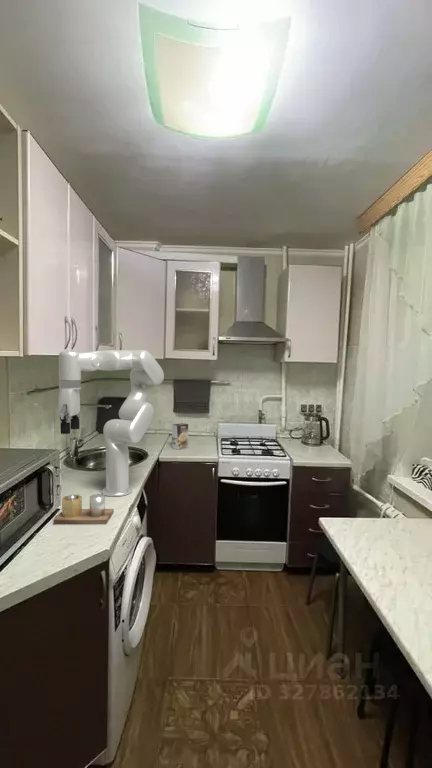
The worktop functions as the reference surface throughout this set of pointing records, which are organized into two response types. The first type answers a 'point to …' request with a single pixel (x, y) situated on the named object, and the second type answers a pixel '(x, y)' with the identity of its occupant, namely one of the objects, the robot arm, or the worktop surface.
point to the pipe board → (85, 518)
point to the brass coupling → (71, 507)
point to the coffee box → (179, 436)
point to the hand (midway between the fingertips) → (70, 431)
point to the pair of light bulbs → (95, 504)
